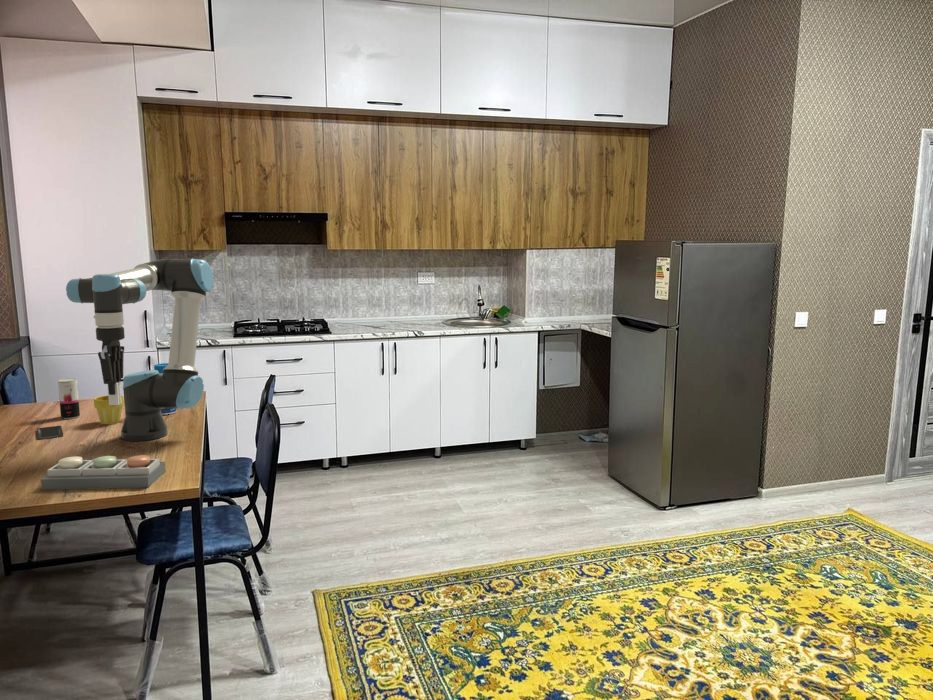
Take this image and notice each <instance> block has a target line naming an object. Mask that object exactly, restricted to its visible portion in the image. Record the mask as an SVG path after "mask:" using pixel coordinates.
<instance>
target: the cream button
mask: <svg viewBox="0 0 933 700" xmlns="http://www.w3.org/2000/svg"><path fill="white" fill-rule="evenodd" d="M82 460H83V457H82V456H68V457H63V458H61V459H59V460H58V463H59V468H61V469H71V468H76V467H80V466H82V465H83V461H82Z"/></svg>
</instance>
